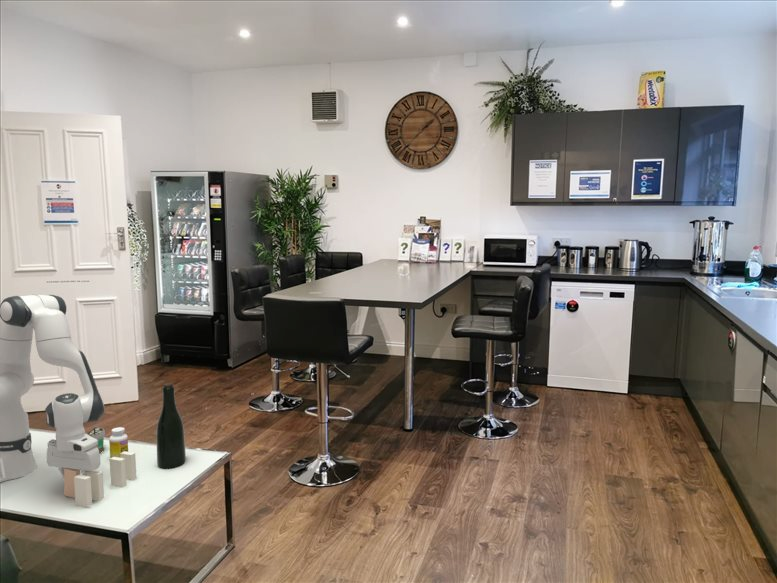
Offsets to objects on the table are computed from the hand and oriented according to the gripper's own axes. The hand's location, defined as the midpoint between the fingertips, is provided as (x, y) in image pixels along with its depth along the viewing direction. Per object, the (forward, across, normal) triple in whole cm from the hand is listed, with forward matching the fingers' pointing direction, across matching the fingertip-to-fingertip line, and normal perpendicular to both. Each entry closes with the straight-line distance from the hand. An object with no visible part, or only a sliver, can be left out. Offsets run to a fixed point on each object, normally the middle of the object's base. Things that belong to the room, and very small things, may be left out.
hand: (74, 479), depth 201 cm
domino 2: (+6, +8, -4) cm, 11 cm away
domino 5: (+6, +8, +16) cm, 19 cm away
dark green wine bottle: (+7, +16, +31) cm, 35 cm away
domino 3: (+7, +8, +1) cm, 10 cm away
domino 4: (+6, +8, +11) cm, 15 cm away
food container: (+6, -20, +31) cm, 37 cm away
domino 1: (+6, -1, 0) cm, 6 cm away
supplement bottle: (+6, -8, +29) cm, 30 cm away
